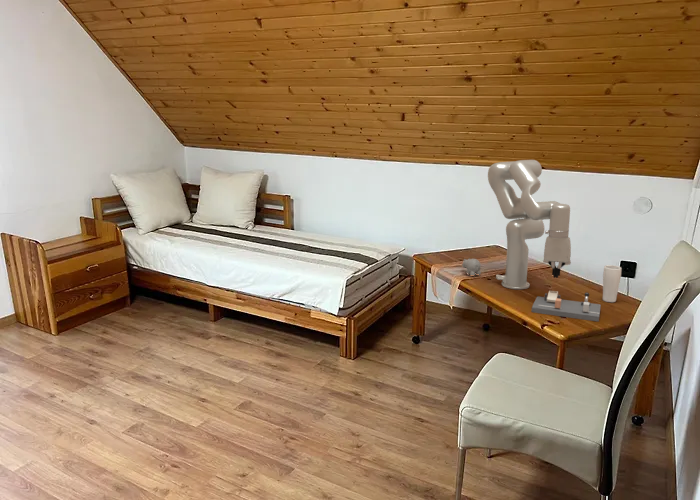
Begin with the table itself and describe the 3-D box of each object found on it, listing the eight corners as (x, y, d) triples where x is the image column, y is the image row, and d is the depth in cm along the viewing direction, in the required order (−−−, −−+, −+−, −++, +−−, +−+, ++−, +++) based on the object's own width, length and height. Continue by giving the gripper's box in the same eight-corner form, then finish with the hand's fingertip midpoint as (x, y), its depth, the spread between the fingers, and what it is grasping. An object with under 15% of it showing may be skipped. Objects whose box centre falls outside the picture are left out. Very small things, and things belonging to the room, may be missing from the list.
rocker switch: (546, 301, 224) (546, 299, 224) (549, 292, 230) (549, 290, 229) (555, 302, 223) (556, 300, 222) (558, 293, 228) (558, 291, 228)
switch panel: (531, 312, 220) (532, 300, 219) (536, 300, 233) (537, 290, 232) (598, 321, 209) (599, 310, 208) (600, 309, 222) (601, 298, 221)
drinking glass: (603, 303, 229) (606, 269, 225) (598, 297, 235) (602, 264, 232) (620, 303, 228) (624, 269, 224) (615, 298, 234) (618, 265, 231)
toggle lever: (583, 302, 220) (584, 291, 221) (583, 303, 222) (584, 292, 223) (588, 303, 220) (589, 292, 220) (588, 304, 221) (589, 292, 222)
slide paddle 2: (582, 311, 213) (583, 304, 212) (583, 308, 215) (584, 301, 215) (588, 312, 212) (589, 304, 211) (588, 309, 215) (589, 302, 214)
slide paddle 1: (554, 307, 217) (555, 300, 217) (555, 305, 220) (556, 298, 219) (560, 308, 216) (560, 301, 216) (560, 305, 219) (561, 298, 218)
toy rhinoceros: (469, 270, 279) (470, 254, 277) (483, 276, 268) (483, 259, 266) (457, 271, 277) (458, 255, 274) (470, 278, 266) (471, 261, 264)
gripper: (538, 234, 222) (535, 277, 226) (577, 237, 215) (574, 281, 219) (540, 231, 228) (538, 273, 232) (579, 233, 222) (575, 276, 226)
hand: (555, 277), depth 226 cm, fingers closed
